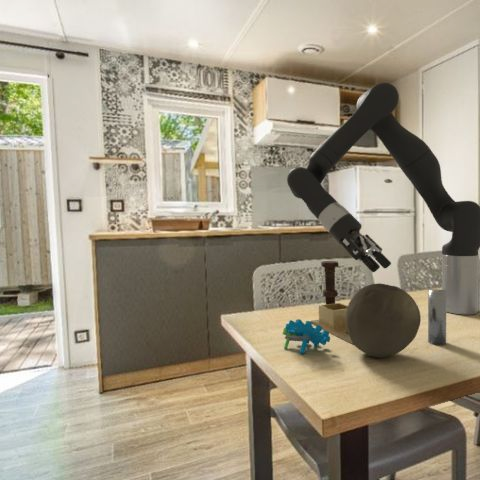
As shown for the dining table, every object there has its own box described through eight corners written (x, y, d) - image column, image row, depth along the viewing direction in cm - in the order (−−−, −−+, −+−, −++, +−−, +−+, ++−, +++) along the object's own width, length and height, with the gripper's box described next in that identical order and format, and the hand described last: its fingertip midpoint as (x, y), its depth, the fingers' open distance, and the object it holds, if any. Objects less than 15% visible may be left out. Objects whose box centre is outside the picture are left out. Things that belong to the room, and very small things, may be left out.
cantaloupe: (382, 374, 64) (381, 294, 63) (332, 349, 77) (331, 282, 76) (435, 360, 70) (435, 286, 69) (380, 339, 83) (380, 277, 82)
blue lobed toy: (338, 341, 78) (318, 316, 72) (332, 366, 74) (312, 342, 69) (296, 338, 85) (275, 316, 80) (289, 361, 81) (267, 339, 76)
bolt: (341, 305, 116) (340, 261, 115) (336, 309, 112) (336, 262, 111) (324, 304, 119) (323, 260, 119) (319, 307, 115) (318, 262, 114)
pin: (436, 339, 82) (436, 288, 81) (449, 343, 79) (450, 291, 78) (424, 341, 81) (424, 290, 80) (438, 346, 77) (438, 292, 77)
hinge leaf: (346, 318, 101) (346, 300, 101) (393, 336, 84) (393, 315, 84) (310, 323, 97) (310, 304, 97) (352, 344, 80) (352, 321, 80)
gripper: (337, 212, 86) (384, 260, 79) (359, 212, 97) (402, 255, 90) (317, 233, 90) (361, 281, 83) (341, 231, 101) (381, 274, 94)
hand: (382, 268), depth 87 cm, fingers open, 8 cm apart
